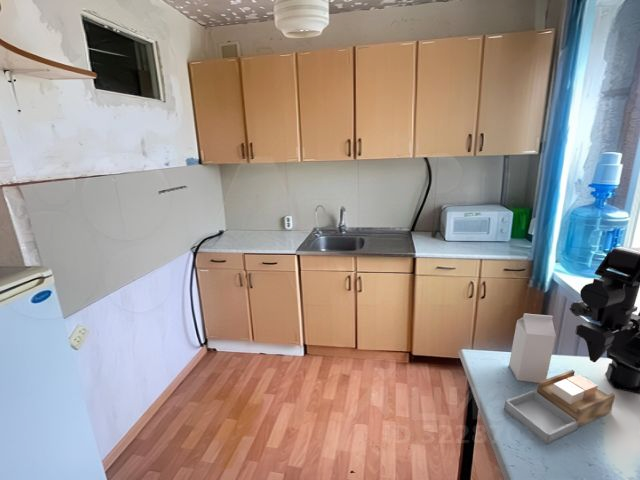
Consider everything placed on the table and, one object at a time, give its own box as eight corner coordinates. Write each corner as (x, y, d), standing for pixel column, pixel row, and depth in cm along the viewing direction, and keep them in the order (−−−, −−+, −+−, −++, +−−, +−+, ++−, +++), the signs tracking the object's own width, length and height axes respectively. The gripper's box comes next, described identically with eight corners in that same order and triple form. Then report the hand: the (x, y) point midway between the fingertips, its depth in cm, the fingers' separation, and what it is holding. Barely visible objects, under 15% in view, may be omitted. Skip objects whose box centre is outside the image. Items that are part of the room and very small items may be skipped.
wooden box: (568, 386, 91) (572, 369, 90) (610, 412, 82) (615, 394, 81) (535, 398, 87) (538, 382, 85) (575, 428, 78) (580, 409, 76)
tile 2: (576, 382, 87) (578, 374, 86) (595, 394, 83) (597, 385, 82) (564, 386, 85) (566, 378, 85) (583, 398, 81) (585, 390, 81)
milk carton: (545, 384, 92) (559, 322, 87) (517, 380, 93) (528, 320, 88) (534, 368, 99) (547, 310, 94) (508, 364, 100) (519, 307, 95)
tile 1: (563, 387, 85) (565, 378, 85) (582, 399, 81) (584, 390, 81) (551, 391, 84) (553, 383, 83) (570, 404, 80) (572, 395, 79)
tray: (531, 398, 87) (533, 390, 86) (576, 430, 77) (578, 421, 77) (503, 408, 84) (505, 400, 83) (546, 444, 74) (548, 435, 73)
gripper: (602, 281, 91) (589, 332, 95) (559, 293, 83) (547, 348, 88) (655, 298, 81) (638, 354, 85) (611, 313, 74) (595, 374, 78)
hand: (603, 356), depth 84 cm, fingers open, 9 cm apart
